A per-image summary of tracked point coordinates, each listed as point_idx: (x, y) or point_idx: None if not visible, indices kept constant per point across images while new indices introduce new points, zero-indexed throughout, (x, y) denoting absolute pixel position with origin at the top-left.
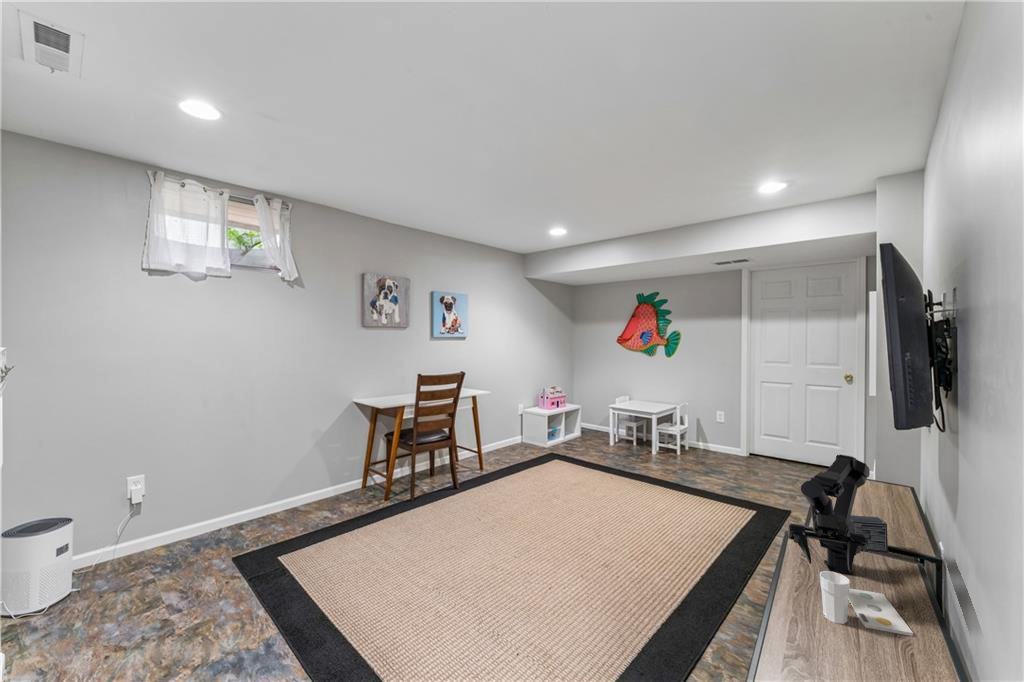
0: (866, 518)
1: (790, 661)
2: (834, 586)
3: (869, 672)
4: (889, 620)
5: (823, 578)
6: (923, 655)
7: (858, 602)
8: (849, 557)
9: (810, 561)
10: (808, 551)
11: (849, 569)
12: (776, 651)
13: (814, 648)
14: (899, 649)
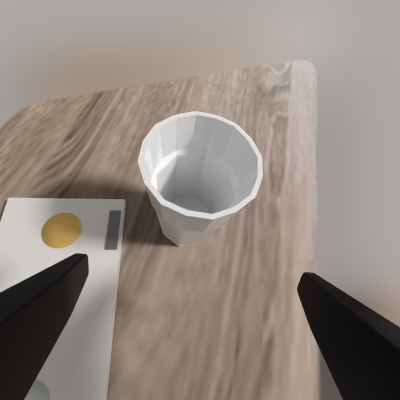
0: None
1: (281, 80)
2: (211, 125)
3: (176, 81)
4: (38, 242)
5: (251, 139)
6: (45, 138)
7: (85, 327)
8: (8, 314)
9: (311, 274)
10: (374, 321)
11: (86, 254)
12: (299, 94)
13: (246, 111)
14: (87, 144)
